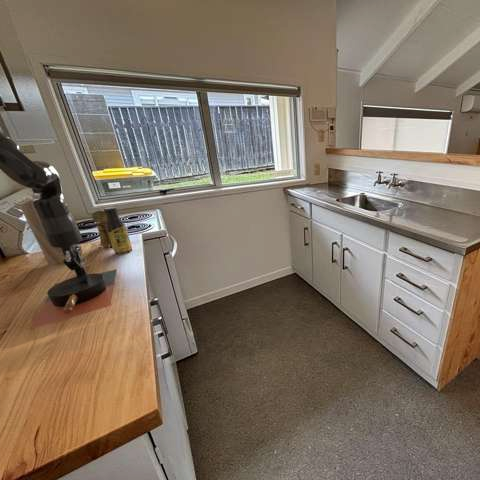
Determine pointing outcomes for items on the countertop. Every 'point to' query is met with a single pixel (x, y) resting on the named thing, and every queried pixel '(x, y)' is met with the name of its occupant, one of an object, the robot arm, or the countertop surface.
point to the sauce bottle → (117, 232)
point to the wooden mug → (102, 228)
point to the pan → (77, 291)
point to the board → (55, 313)
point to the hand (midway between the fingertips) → (83, 277)
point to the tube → (41, 235)
